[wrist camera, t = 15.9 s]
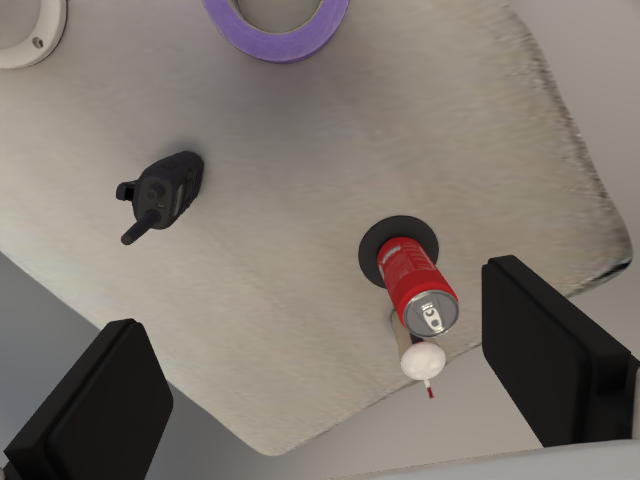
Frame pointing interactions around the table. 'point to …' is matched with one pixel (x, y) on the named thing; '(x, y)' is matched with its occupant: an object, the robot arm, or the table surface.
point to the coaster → (387, 231)
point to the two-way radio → (162, 193)
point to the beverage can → (417, 288)
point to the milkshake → (418, 354)
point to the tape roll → (277, 45)
